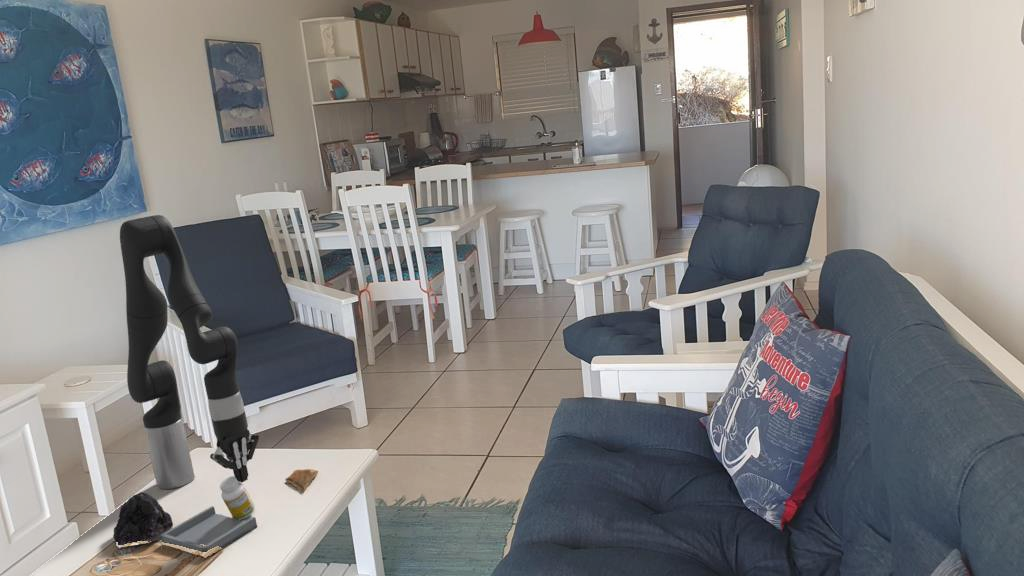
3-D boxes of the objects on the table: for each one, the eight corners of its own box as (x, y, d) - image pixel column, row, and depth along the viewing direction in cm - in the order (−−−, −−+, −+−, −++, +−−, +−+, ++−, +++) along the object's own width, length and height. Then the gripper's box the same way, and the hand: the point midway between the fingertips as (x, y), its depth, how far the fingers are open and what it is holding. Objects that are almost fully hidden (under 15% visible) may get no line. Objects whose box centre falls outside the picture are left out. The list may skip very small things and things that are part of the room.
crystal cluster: (147, 555, 176) (143, 513, 175) (97, 548, 180) (93, 507, 178) (186, 528, 189) (183, 489, 187) (138, 522, 192) (135, 483, 191)
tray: (162, 544, 179) (160, 535, 178) (213, 515, 190) (211, 506, 190) (206, 558, 170) (204, 548, 170) (257, 526, 182) (255, 517, 181)
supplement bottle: (235, 507, 190) (218, 477, 186) (257, 501, 190) (240, 471, 186) (231, 523, 186) (214, 493, 181) (253, 517, 186) (236, 486, 181)
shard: (304, 494, 197) (303, 487, 196) (275, 495, 198) (274, 489, 197) (320, 474, 207) (318, 468, 207) (292, 476, 208) (291, 469, 208)
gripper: (239, 400, 191) (253, 466, 195) (193, 422, 180) (209, 491, 184) (260, 403, 187) (274, 470, 191) (214, 425, 176) (230, 496, 180)
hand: (242, 480), depth 187 cm, fingers closed
